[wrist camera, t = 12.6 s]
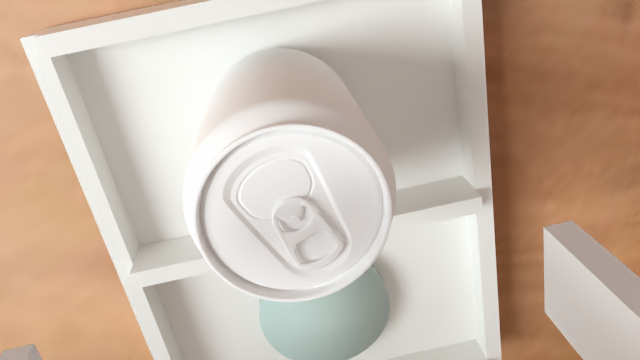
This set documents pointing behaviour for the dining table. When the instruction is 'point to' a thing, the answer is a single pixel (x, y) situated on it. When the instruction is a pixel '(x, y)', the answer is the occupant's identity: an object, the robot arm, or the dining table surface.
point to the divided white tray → (182, 129)
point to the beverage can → (287, 180)
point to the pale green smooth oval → (329, 321)
